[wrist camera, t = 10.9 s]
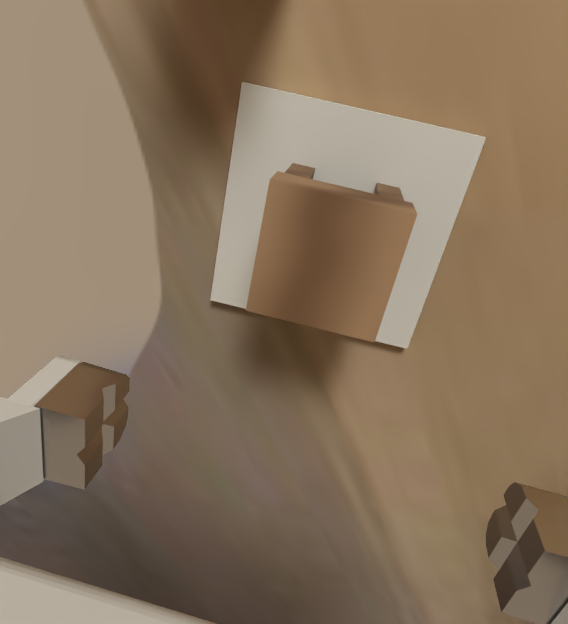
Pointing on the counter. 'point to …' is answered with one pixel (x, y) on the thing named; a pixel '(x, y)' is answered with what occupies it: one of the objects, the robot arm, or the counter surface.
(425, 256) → the mat
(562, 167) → the counter surface
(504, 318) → the counter surface
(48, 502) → the counter surface
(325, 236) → the stool
